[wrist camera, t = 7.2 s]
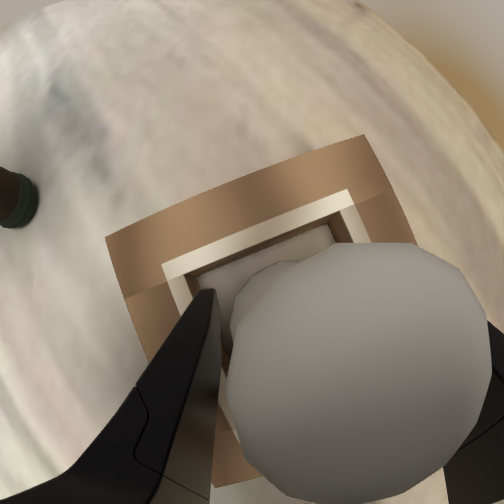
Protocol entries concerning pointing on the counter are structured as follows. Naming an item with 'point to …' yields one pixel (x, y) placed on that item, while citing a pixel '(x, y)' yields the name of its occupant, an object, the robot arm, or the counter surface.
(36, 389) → the counter surface
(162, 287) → the socket board
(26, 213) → the potato masher grenade
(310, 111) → the counter surface
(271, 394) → the salt shaker
